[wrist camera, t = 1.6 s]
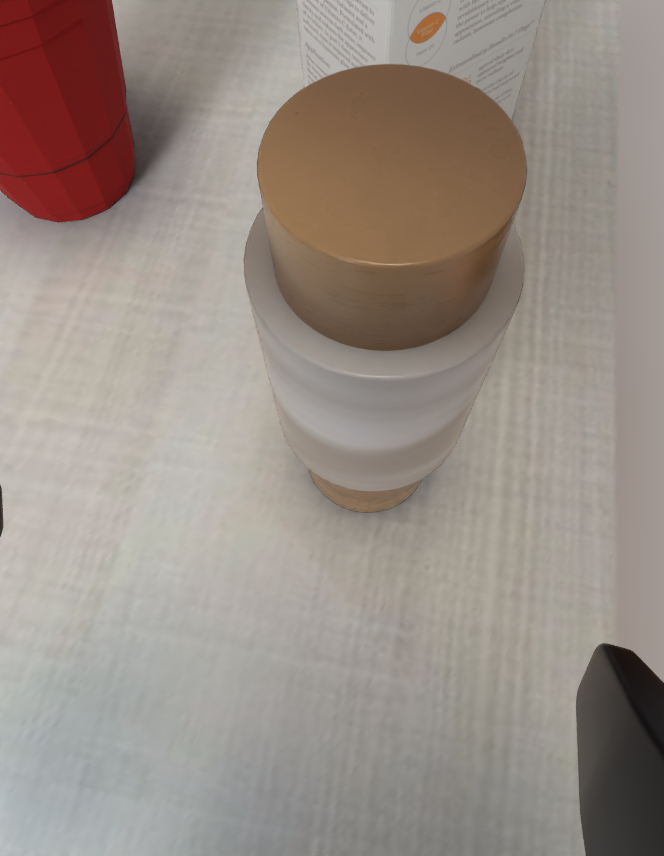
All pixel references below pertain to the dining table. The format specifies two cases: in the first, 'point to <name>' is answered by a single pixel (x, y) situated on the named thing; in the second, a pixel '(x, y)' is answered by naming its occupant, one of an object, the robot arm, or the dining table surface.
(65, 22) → the plastic cup
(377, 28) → the small box
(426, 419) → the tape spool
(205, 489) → the dining table surface
